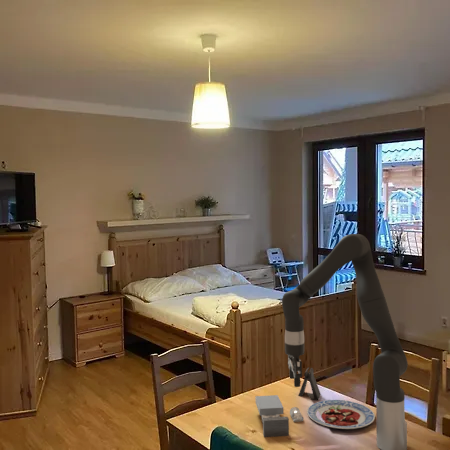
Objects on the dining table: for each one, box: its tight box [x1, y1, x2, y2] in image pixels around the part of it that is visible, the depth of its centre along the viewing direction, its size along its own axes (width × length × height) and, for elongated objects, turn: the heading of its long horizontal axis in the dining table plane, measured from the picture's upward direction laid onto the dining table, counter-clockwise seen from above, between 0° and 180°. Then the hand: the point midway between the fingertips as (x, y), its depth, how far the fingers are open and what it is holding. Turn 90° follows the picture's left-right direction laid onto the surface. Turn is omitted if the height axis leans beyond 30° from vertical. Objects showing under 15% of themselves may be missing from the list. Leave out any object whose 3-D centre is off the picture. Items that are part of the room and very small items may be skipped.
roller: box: [289, 406, 304, 423], centre depth 193 cm, size 7×4×4 cm, turn 4°
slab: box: [254, 394, 285, 416], centre depth 193 cm, size 9×12×2 cm
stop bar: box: [262, 416, 290, 438], centre depth 180 cm, size 9×2×7 cm, turn 94°
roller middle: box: [260, 414, 281, 423], centre depth 191 cm, size 7×4×4 cm, turn 94°
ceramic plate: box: [306, 399, 376, 430], centre depth 195 cm, size 26×26×3 cm
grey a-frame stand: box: [298, 367, 322, 401], centre depth 216 cm, size 9×6×12 cm, turn 70°
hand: (294, 382), depth 193 cm, fingers open, 8 cm apart
